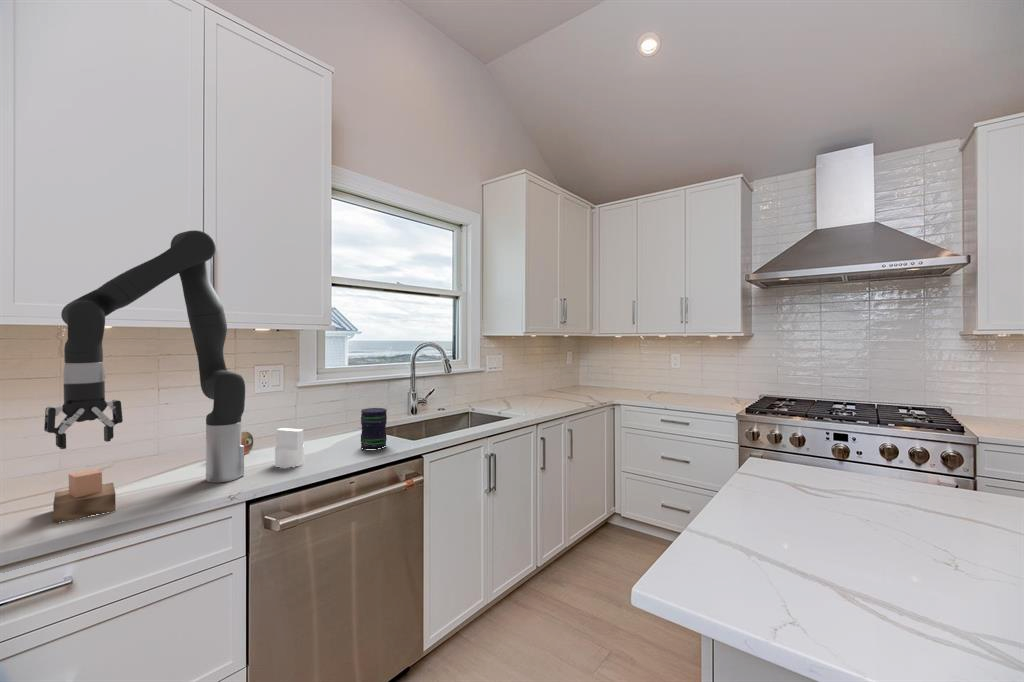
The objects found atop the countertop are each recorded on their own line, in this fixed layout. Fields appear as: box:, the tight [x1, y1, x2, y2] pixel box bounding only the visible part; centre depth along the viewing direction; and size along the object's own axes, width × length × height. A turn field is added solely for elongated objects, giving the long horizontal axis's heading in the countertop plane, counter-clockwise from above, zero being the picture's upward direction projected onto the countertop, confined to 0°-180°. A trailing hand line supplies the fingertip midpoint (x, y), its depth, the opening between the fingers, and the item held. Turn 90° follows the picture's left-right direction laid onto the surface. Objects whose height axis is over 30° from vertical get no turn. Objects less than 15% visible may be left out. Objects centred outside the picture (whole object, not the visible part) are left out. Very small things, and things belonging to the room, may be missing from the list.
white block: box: [274, 427, 305, 469], centre depth 157 cm, size 9×9×12 cm
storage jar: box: [360, 407, 388, 449], centre depth 181 cm, size 10×10×15 cm
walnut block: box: [52, 482, 117, 525], centre depth 115 cm, size 11×11×5 cm
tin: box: [241, 431, 254, 455], centre depth 165 cm, size 15×3×8 cm, turn 168°
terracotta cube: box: [68, 468, 103, 498], centre depth 115 cm, size 5×5×5 cm
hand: (85, 444), depth 115 cm, fingers open, 8 cm apart
